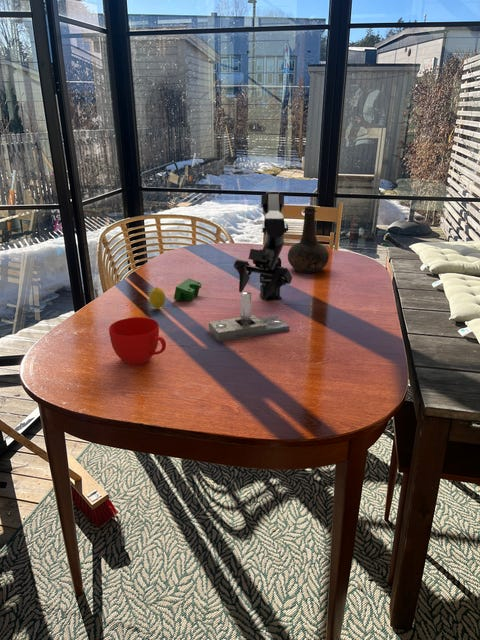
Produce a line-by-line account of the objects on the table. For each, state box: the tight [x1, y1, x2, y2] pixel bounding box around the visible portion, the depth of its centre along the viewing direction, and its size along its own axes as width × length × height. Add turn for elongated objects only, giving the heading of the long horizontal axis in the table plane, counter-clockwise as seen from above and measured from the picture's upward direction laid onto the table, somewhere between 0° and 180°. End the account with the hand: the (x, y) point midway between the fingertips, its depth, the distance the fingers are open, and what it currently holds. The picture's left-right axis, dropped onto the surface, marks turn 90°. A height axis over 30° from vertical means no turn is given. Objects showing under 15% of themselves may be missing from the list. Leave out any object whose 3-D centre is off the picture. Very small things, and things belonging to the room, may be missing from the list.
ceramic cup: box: [108, 316, 167, 366], centre depth 126 cm, size 13×17×10 cm
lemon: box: [148, 286, 166, 310], centre depth 163 cm, size 6×6×8 cm
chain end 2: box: [235, 315, 290, 340], centre depth 148 cm, size 18×9×2 cm, turn 112°
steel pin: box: [239, 290, 252, 326], centre depth 145 cm, size 3×3×12 cm
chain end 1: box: [208, 314, 266, 343], centre depth 146 cm, size 16×9×3 cm, turn 112°
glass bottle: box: [287, 205, 330, 274], centre depth 206 cm, size 18×18×28 cm
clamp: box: [173, 277, 202, 302], centre depth 175 cm, size 12×6×9 cm, turn 156°
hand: (252, 294), depth 147 cm, fingers open, 9 cm apart
